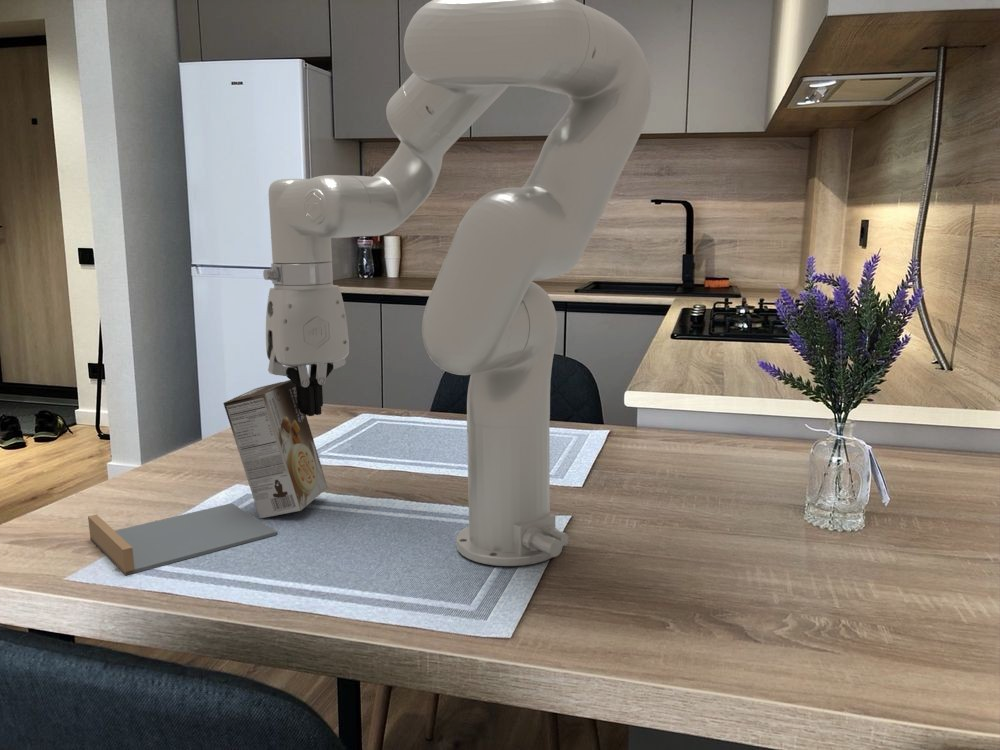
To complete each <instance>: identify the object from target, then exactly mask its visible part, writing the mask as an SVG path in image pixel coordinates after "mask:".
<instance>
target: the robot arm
mask: <svg viewBox="0 0 1000 750" xmlns="http://www.w3.org/2000/svg"><path fill="white" fill-rule="evenodd" d="M404 33H405V34H404V37H403V51H404V57H405V61H406V64H407V65H408V67H409V69H410V70H411V72H412V73H411V75H410V76H409V77H408V78H407V79H406V80H405V81H404V82H403V84H402V85H401V86H400V87H399V89H397V90H396V92H394V94H393V95H392V96H391V97H390V99H389V100H388V102H387V105H386V108H385V109H386V110H385V112H386V113H385V114H386V119H387V122H388V124H389V126H390V128H391V130H392V131H393V133H394V135H395V136H396V137H397V139H398V140H399V142H400V143H399V145H398V147H397V149H396V150H395V152H394V154H393V155H392V156H391V157H390V159H388V161H387V162H386V163H385V164H384V165H383V166H382V167H381V168H380V169H379V170H378V171H377V172H376V173H374V175H373V176H366V175H350V174H349V175H339V174H328V175H327V174H326V175H319V176H314V177H311V178H281V179H276V180H274V181H273V182H271V184H270V186H269V188H268V208H269V223H270V239H271V240H270V241H271V243H270V244H271V257H272V260H271V261H272V263H271V265H270V266H271V267H269V269H263V272H262V275H263V279H264V280H266V281H270V282H271V283H272V284H273V287H270V288H269V293H268V295H267V297H268V298H267V304H266V314H265V348H266V349H265V350H266V357H267V359H268V361H269V363H268V369H267V371H268V373H269V374H271V375H275V376H281V377H282V376H283V377H286V378H287V379H288V380H291V381H292V382H293V383H294V384H296V391H297V406H298V408H299V409H300V412H301V413H302V414H305V415H306V417H307V416H308V417H314V416H315V415H316V416H318V415H320V416H321V415H322V407H323V406H324V400H323V399H324V397H323V396H324V394H323V385H325V383H326V381H327V378H328V377H329V375H330V374H331V373H332V372H333V370H336V369H338V368H339V369H340V368H341V367H343V366H345V365H346V363H347V361H346V358H347V357H348V356H349V353H350V340H349V339H350V338H349V330H348V329H349V328H348V322H347V321H348V320H347V315H346V309H345V303H344V300H343V296H342V295H343V294H342V292H341V288H340V286H339V285H334V282H333V281H334V280H333V279H334V276H333V275H334V273H333V254H332V239H344V238H354V237H357V238H358V237H378V236H379V237H380V236H383V235H386V234H389V233H390V232H393V231H395V230H396V229H397V228H399V226H401V225H402V224H403V223H404V222H406V221H407V220H408V219H409V218H410V217H411V216H412V215H413V214H414V213H415V212H416V211H417V210H418V208H420V206H421V205H423V203H424V202H425V201H426V200H427V199H428V198H429V196H430V195H431V193H432V192H433V190H434V188H435V185H436V184H437V181H438V178H439V176H440V172H441V170H442V165H443V158H444V155H445V154H446V153H447V151H449V149H450V148H451V147H452V146H453V145H454V144H455V143H456V142H457V141H458V140H460V139H461V137H462V136H463V134H464V133H466V131H467V130H468V129H469V128H470V127H472V125H473V124H474V123H475V122H476V121H477V120H478V119H480V117H482V114H484V113H485V112H486V110H488V108H490V107H491V105H492V104H493V103H495V101H496V100H497V99H498V98H499V97H500V96H501V95H502V94H503V93H504V92H505V91H506V90H507V89H508V88H509V87H523V88H525V87H526V88H534V89H538V90H539V89H540V90H543V91H548V92H551V93H555V94H560V95H565V96H567V97H568V99H569V106H568V108H567V111H566V112H565V113H564V115H563V116H562V117H561V118H560V119H559V121H558V122H557V123H556V125H555V126H554V127H553V129H552V130H551V132H550V133H549V134H548V135H547V138H546V140H545V141H544V143H543V145H542V148H541V151H540V154H539V155H538V157H537V160H536V163H535V165H534V167H533V169H532V171H531V173H530V175H529V177H528V178H527V180H526V182H525V183H524V185H523V186H521V187H517V186H515V187H514V186H513V187H502V188H498V189H494V190H492V191H489V192H488V193H486V194H484V195H483V196H481V197H479V198H478V200H476V201H475V202H474V203H473V204H472V205H471V207H469V209H468V210H467V212H466V213H465V214H464V215H463V217H462V219H461V221H460V222H459V224H458V227H457V229H456V232H455V234H454V236H453V238H452V241H451V243H450V245H449V247H448V251H447V252H446V255H445V257H444V260H443V262H442V265H441V268H440V269H439V272H438V274H437V277H436V279H435V282H434V284H433V287H432V288H431V291H430V294H429V297H428V299H427V302H426V304H425V307H424V311H423V316H422V322H421V334H422V335H421V336H422V342H423V346H424V349H425V351H426V354H427V355H428V356H429V358H430V360H431V361H432V362H433V364H435V365H436V366H437V367H438V368H439V369H441V370H442V371H445V372H447V373H450V374H453V375H456V376H457V375H458V376H469V375H470V377H469V382H468V387H467V396H466V437H467V438H466V439H467V442H466V443H467V445H466V447H467V489H468V492H467V493H468V526H466V527H464V528H463V529H461V530H460V531H459V532H458V534H457V535H456V539H455V540H456V541H455V543H456V550H457V551H458V552H459V553H460V555H462V556H463V557H465V558H466V559H468V560H471V561H473V562H474V563H475V562H476V563H479V564H483V565H489V566H499V567H520V566H528V565H534V564H539V563H542V562H545V561H547V560H551V559H552V558H557V557H558V556H560V555H561V552H562V550H563V547H565V546H567V545H568V543H569V541H570V535H569V534H568V533H565V532H564V531H560V530H559V529H558V528H556V514H554V513H552V512H551V511H550V510H551V509H550V507H551V506H550V503H551V501H550V498H551V496H550V494H551V493H550V489H551V488H550V480H551V479H550V475H551V474H550V472H551V471H550V464H551V463H550V460H551V459H550V456H551V455H550V450H551V449H550V419H551V416H550V415H551V381H552V380H551V378H552V368H553V361H554V360H553V359H554V355H555V349H556V343H557V342H556V341H557V335H558V320H557V319H558V318H557V312H556V309H555V306H554V304H553V301H552V299H551V296H550V295H549V294H548V292H546V290H545V289H544V288H543V287H542V286H540V285H539V284H537V283H536V282H537V281H543V280H548V279H553V278H557V277H561V276H564V275H565V274H567V273H568V272H570V271H571V270H573V269H574V268H575V267H576V266H577V264H578V263H579V262H580V260H581V258H582V257H583V254H584V252H585V251H586V249H587V246H588V245H589V242H590V240H591V238H592V236H593V234H594V232H595V229H596V227H597V225H598V224H599V221H600V219H601V218H602V215H603V213H604V211H605V209H606V207H607V204H608V203H609V201H610V198H611V197H612V194H613V191H614V190H615V187H616V185H617V182H618V180H619V178H620V176H621V174H622V172H623V170H624V168H625V166H626V163H627V162H628V160H629V158H630V156H631V155H632V152H633V150H634V148H635V147H636V145H637V142H638V140H639V138H640V136H641V134H642V132H643V129H644V127H645V124H646V122H647V119H648V115H649V112H650V107H651V103H652V102H651V101H652V92H653V91H652V88H653V87H652V78H651V77H652V76H651V70H650V66H649V63H648V61H647V58H646V57H645V56H646V55H645V54H644V52H643V49H642V48H641V46H640V45H639V43H638V41H637V40H636V39H635V37H633V35H632V34H631V33H630V32H629V30H627V29H626V27H624V26H623V25H622V24H621V23H620V22H619V21H617V20H616V19H614V18H613V17H610V16H609V15H608V14H605V13H603V12H602V11H600V10H597V8H596V9H595V8H594V7H592V6H589V5H586V4H583V3H582V2H579V1H577V0H431V1H429V2H427V3H426V4H424V5H422V7H420V8H419V9H418V10H417V11H416V13H415V14H413V16H412V18H411V19H410V20H409V23H408V25H407V28H406V30H405V32H404ZM534 281H535V282H534ZM307 366H308V368H307Z"/></svg>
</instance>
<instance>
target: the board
mask: <svg viewBox="0 0 1000 750" xmlns="http://www.w3.org/2000/svg"><path fill="white" fill-rule="evenodd" d="M87 519H88V521H87V522H88V531H89V537H90V538H89V539H90V540H91V542H92V543H93V544H94V545H95V546H96V547H97V548H98V549H99V550H100V551H101V552H102V553H103V554H104V555H105V556H106V557H107V558H108V559H109V560H110V561H111V563H112V564H113V565H114V566H116V567H117V568H118V569H119V571H120V572H122V573H123V575H124V576H129V575H133V574H136V573H139V572H143V571H147V570H151V569H155V568H158V567H162V566H166V565H170V564H174V563H177V562H181V561H184V560H185V561H186V560H188V559H192V558H195V557H199V556H203V555H207V554H210V553H211V554H212V553H216V552H217V551H218V552H219V551H221V550H225V549H229V548H233V547H237V546H240V545H243V544H247V543H252V542H255V541H259V540H264V539H265V538H270V537H274V536H278V531H277V530H276V529H274V528H272V527H271V526H269V525H268V524H266V523H264V522H263V521H262V520H259V519H258V518H256V517H254V515H252V514H250V513H249V512H247V511H245V510H244V509H242V508H240V507H239V506H237V505H236V504H234V503H233V502H230V503H226V504H223V505H218V506H213V507H209V508H205V509H201V510H196V511H193V512H189V513H184V514H179V515H175V516H171V517H167V518H163V519H159V520H155V521H150V522H146V523H142V524H137V525H132V526H129V527H125V528H120V529H116V530H114V529H113V528H112V527H111V526H110V525H109V524H108V523H107V522H106V521H105V520H103V518H101V517H100V516H99V515H98V514H92V515H88V516H87Z"/></svg>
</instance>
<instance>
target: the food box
mask: <svg viewBox="0 0 1000 750" xmlns="http://www.w3.org/2000/svg"><path fill="white" fill-rule="evenodd" d="M223 406H224V409H225V413H226V415H227V419H228V422H229V425H230V428H231V432H232V435H233V438H234V441H235V445H236V447H237V451H238V454H239V457H240V461H241V463H242V466H243V469H244V473H245V477H246V479H247V483H248V485H249V487H250V489H249V490H250V492H251V494H252V498H253V502H254V504H255V507H256V512H257V515H258V517H259V519H264V518H271V517H275V516H279V515H280V516H281V515H284V514H290V513H291V514H292V513H296V512H301V511H302V510H303V509H305V508H306V507H307V506H308V505H309V504H311V503H312V502H313V501H314V500H316V498H317V497H319V496H320V495H321V494H322V493H324V491H326V490H328V483H327V480H326V476H325V473H324V471H323V470H324V469H323V466H322V462H321V460H320V457H319V454H318V450H317V447H316V444H315V441H314V436H313V434H312V431H311V428H310V427H311V426H310V423H309V420H308V417H307V415H305V414H302V413H301V412H300V409H299V408H298V406H297V391H296V384H294V383H293V382H292V381H291V380H290V379H288V380H285V381H281V382H280V381H279V382H275V383H271V384H267V385H264V386H259V387H256V388H254V389H251V390H249V391H247V392H244V393H243V394H240V395H237V396H236V397H234V398H232V399H229V400H226V401H225V402H223Z"/></svg>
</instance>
